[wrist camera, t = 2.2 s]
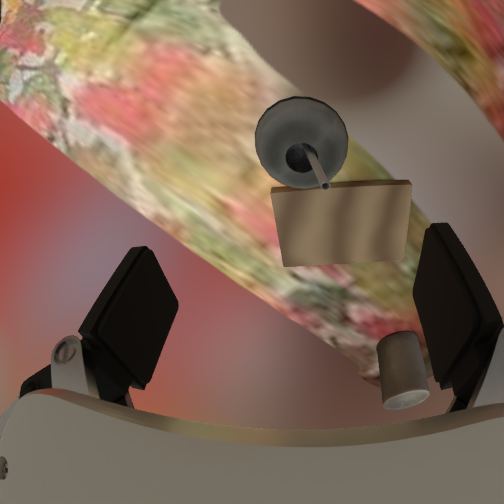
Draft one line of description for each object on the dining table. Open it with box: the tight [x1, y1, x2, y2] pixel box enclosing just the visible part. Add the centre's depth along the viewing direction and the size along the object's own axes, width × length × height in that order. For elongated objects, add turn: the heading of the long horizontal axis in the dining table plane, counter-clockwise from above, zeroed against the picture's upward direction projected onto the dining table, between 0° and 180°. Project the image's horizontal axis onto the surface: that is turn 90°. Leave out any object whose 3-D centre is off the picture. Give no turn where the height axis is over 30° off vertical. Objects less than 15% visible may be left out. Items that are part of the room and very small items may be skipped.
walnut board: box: [270, 180, 412, 267], centre depth 36 cm, size 18×12×2 cm, turn 102°
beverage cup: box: [255, 96, 348, 191], centre depth 21 cm, size 7×7×20 cm
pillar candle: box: [376, 331, 430, 410], centre depth 46 cm, size 10×10×15 cm
